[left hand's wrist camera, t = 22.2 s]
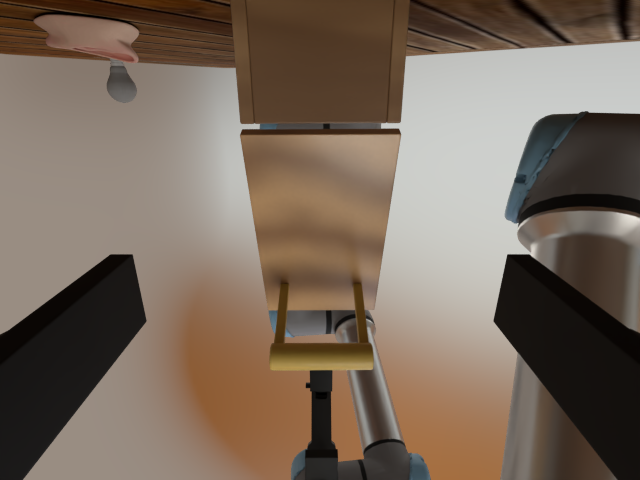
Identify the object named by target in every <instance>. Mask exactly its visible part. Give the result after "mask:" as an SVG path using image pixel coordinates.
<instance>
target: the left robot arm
mask: <svg viewBox="0 0 640 480" xmlns="http://www.w3.org/2000/svg"><path fill="white" fill-rule="evenodd" d="M505 218H506V219H507V220H510V221H512V222H514V223H519V225H518V232H517V235H518V239H519V241H520V242H521V244H522V245H523V246H524V247H526V248H527V249H528V250H529V251H530V252H531V255H529V254H528V255H527V254H526V255H523V254H522V255H517V254H512V255H511V254H510V255H509V254H508V255H507V259H506V264H505V269H504V273H503V278H502V283H501V288H500V292H499V297H498V302H497V307H496V312H495V316H494V322H495V324H496V325H497V326H498V328H499V329H500V330H501V331H502V333H503V334H504V335H505V337H506V338H507V339H508V340H509V342H510V343H511V344H512V346H513V347H514V348H515V349H516V351H517V352H518V355H517V362H516V369H515V377H514V384H513V391H512V399H511V406H510V413H509V421H508V428H507V435H506V442H505V450H504V457H503V464H502V472H501V479H500V480H640V114H621V113H589V112H588V111H585V112H580V113H579V114H552V115H548V116H545V117H544V118H542V119H540V120H539V121H538V122H536V123H535V125H534V126H533V128H532V130H531V132H530V135H529V137H528V140H527V143H526V145H525V148H524V151H523V154H522V157H521V160H520V164H519V167H518V170H517V173H516V178H515V180H514V183H513V186H512V189H511V192H510V195H509V199H508V202H507V206H506V210H505ZM145 323H146V317H145V312H144V307H143V302H142V298H141V292H140V288H139V283H138V278H137V273H136V269H135V264H134V259H133V255H128V254H127V255H124V254H120V255H116V254H112V255H109V256H108V257H107V258H105V259H104V260H103V261H101V262H100V263H99V264H97V265H96V266H95V267H93V268H92V269H91V270H89V271H88V272H86V273H85V274H84V275H82V276H81V277H80V278H78V279H77V280H76V281H74V282H73V283H72V284H70V285H69V286H68V287H66V288H65V289H64V290H62V291H61V292H60V293H58V294H57V295H55V296H54V297H53V298H51V299H50V300H49V301H47V302H46V303H45V304H43V305H42V306H41V307H39V308H38V309H37V310H35V311H34V312H33V313H31V314H30V315H29V316H27V317H26V318H25V319H23V320H22V321H20V322H19V323H18V324H16V325H15V326H14V327H12V328H11V329H10V330H8V331H6V332H5V333H2V334H0V480H23V479H24V478H25V476H26V475H27V474H28V472H29V471H30V470H31V469H32V467H33V466H34V465H35V463H36V462H37V461H38V460H39V458H40V457H41V456H42V454H43V453H44V452H45V451H46V449H47V448H48V447H49V445H50V444H51V443H52V442H53V440H54V439H55V438H56V436H57V435H58V434H59V433H60V431H61V430H62V429H63V427H64V426H65V425H66V424H67V422H68V421H69V420H70V419H71V417H72V416H73V415H74V413H75V412H76V411H77V410H78V408H79V407H80V406H81V405H82V403H83V402H84V401H85V399H86V398H87V397H88V396H89V394H90V393H91V392H92V390H93V389H94V388H95V387H96V385H97V384H98V383H99V381H100V380H101V379H102V378H103V376H104V375H105V374H106V372H107V371H108V370H109V369H110V367H111V366H112V365H113V363H114V362H115V361H116V360H117V358H118V357H119V356H120V355H121V353H122V352H123V351H124V349H125V348H126V347H127V346H128V344H129V343H130V342H131V340H132V339H133V338H134V337H135V335H136V334H137V333H138V332H139V330H140V329H141V328H142V326H143V325H144V324H145Z"/></svg>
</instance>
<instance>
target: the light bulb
mask: <svg viewBox="0 0 640 480" xmlns="http://www.w3.org/2000/svg"><path fill="white" fill-rule="evenodd" d="M110 60H111V63H110V64H111V67H110V76H109V79H108V82H107V90H108V92H109V94H110V95H111V97H112V98H114V99H115V100H117V101H119V102H123V103H126V102H130V101H132V100H133V99H134V98H135V96H136V93H137V89H136V86H135V83H134V82H133V81H132V79H131V78H130V76H129V75H128V73H127V70H126V68H125V67H124V64H123V62H122V61H119V60H115V59H111V58H110Z"/></svg>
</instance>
